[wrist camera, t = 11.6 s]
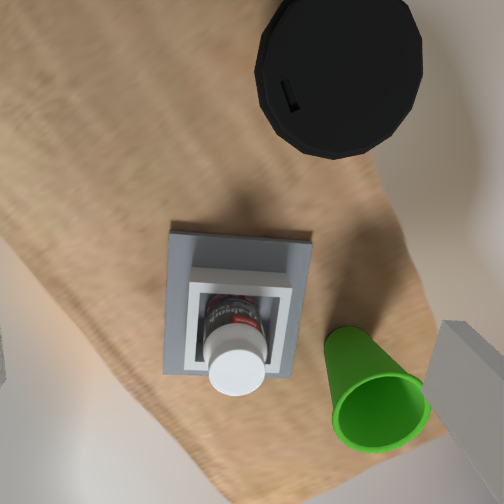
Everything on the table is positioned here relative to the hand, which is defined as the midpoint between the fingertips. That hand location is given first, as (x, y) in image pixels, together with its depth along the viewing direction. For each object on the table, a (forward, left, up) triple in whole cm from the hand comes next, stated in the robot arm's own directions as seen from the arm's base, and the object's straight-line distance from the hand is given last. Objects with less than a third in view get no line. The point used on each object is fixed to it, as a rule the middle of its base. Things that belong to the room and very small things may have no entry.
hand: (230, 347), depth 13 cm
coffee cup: (-9, +7, -29) cm, 31 cm away
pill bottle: (+14, +3, -28) cm, 31 cm away
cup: (+18, +16, -29) cm, 37 cm away
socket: (+14, +3, -29) cm, 32 cm away
